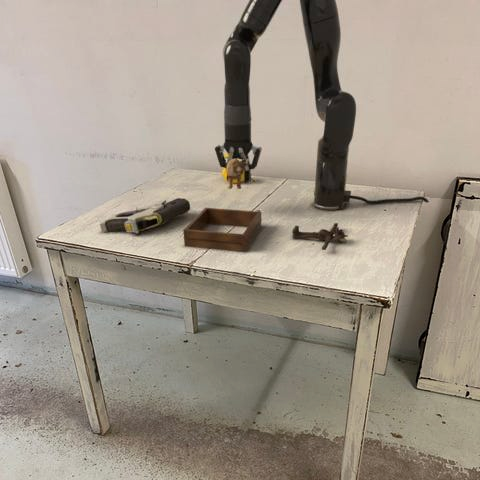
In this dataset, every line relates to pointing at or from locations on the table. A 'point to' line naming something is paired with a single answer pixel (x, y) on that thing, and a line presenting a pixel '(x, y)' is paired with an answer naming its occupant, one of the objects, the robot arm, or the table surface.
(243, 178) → the duckling
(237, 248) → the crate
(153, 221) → the toy blaster
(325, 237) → the brown humanoid figurine
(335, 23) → the robot arm
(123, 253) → the table surface
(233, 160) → the lion figurine
